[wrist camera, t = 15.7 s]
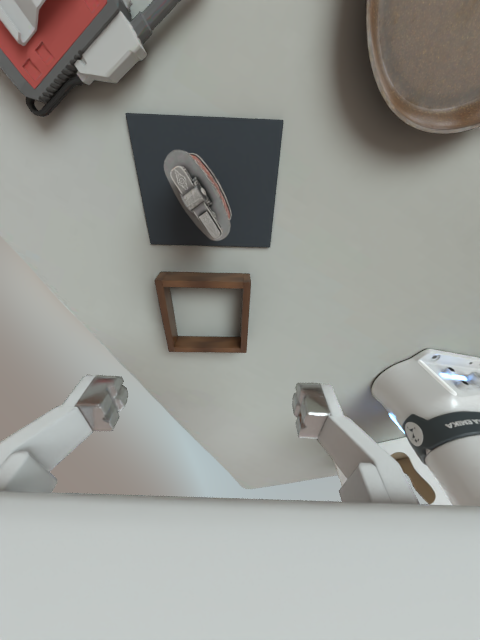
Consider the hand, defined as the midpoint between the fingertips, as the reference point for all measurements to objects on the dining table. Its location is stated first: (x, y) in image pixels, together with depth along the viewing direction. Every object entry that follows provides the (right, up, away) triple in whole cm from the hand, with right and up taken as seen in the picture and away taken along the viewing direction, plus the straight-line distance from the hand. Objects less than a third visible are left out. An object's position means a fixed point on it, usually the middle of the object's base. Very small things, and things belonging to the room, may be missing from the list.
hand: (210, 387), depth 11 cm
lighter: (-2, +18, +16) cm, 25 cm away
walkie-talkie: (-11, +30, +9) cm, 33 cm away
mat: (-2, +19, +16) cm, 25 cm away
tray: (-4, +5, +26) cm, 26 cm away
